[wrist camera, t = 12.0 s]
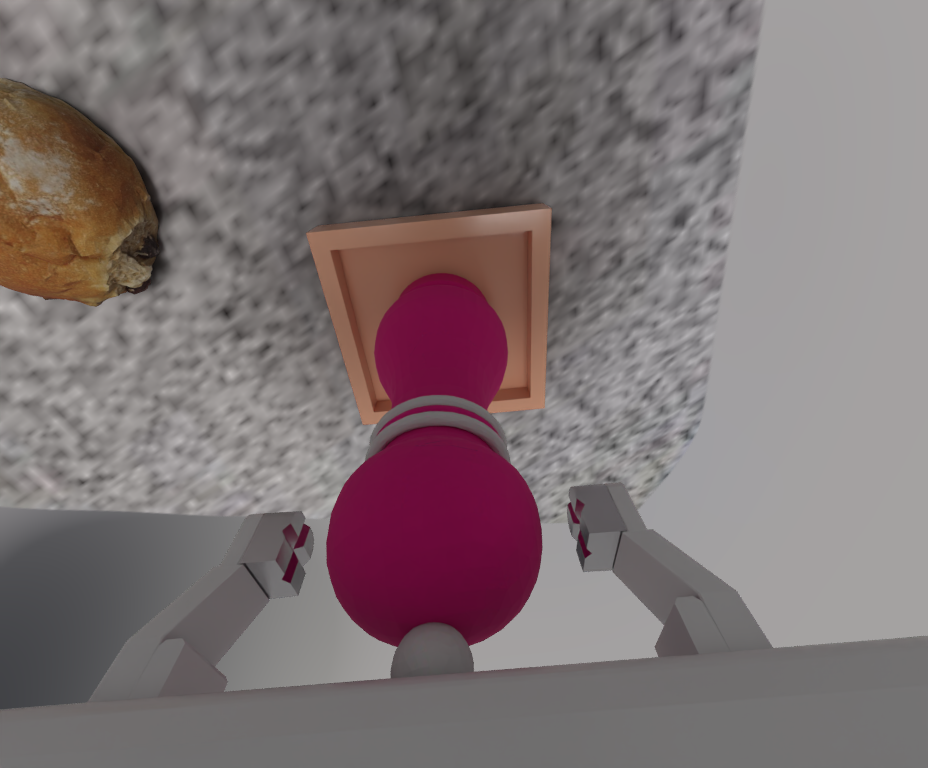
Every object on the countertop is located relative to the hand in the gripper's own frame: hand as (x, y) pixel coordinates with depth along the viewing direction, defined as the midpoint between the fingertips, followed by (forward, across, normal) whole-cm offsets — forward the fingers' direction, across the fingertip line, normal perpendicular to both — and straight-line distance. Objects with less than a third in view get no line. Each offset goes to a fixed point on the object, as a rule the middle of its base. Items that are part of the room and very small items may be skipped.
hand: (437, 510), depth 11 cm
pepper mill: (+15, 0, 0) cm, 15 cm away
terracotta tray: (+16, 0, +1) cm, 16 cm away
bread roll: (+16, +20, -8) cm, 27 cm away
